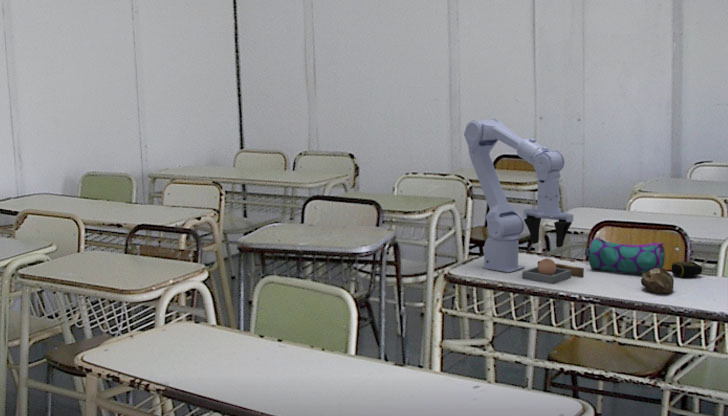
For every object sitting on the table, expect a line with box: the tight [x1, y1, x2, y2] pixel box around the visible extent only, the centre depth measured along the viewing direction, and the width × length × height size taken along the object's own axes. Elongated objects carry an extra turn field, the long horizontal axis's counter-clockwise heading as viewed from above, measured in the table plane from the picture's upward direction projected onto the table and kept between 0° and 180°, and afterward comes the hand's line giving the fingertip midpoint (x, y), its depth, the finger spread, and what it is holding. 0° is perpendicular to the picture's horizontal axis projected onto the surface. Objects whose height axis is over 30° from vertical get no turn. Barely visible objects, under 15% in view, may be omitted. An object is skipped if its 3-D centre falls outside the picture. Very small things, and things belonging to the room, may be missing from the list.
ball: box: [537, 258, 557, 276], centre depth 230 cm, size 5×5×5 cm
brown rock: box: [640, 268, 675, 294], centre depth 215 cm, size 8×7×10 cm
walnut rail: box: [537, 260, 585, 278], centre depth 235 cm, size 14×1×2 cm, turn 46°
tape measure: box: [671, 260, 703, 278], centre depth 230 cm, size 7×7×4 cm
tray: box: [521, 266, 572, 285], centre depth 231 cm, size 10×10×2 cm
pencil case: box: [584, 236, 666, 275], centre depth 235 cm, size 21×9×10 cm, turn 59°
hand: (547, 244), depth 229 cm, fingers open, 7 cm apart
